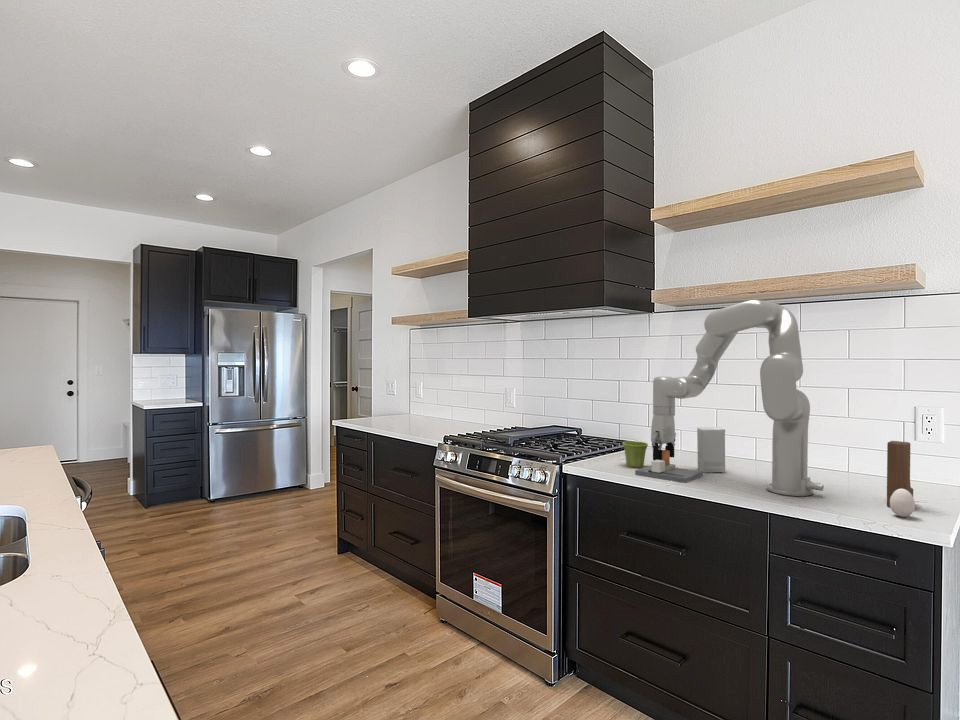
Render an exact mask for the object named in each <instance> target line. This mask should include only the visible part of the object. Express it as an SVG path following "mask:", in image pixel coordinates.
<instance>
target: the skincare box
mask: <svg viewBox="0 0 960 720" xmlns="http://www.w3.org/2000/svg"><path fill="white" fill-rule="evenodd" d="M696 431H697V432H696V433H697V434H696V436H697V439H696V440H697V449H696V450H697V471H702V472H703V474H704V472H706V473H707V472H722V474H723V473H726V429H725V428H722V427H718V426H710V427H709V426H707V427H706V426H704V427H703V426H701V427H699V426H697V427H696ZM706 473H705V474H706ZM707 474H708V473H707Z"/></svg>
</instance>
